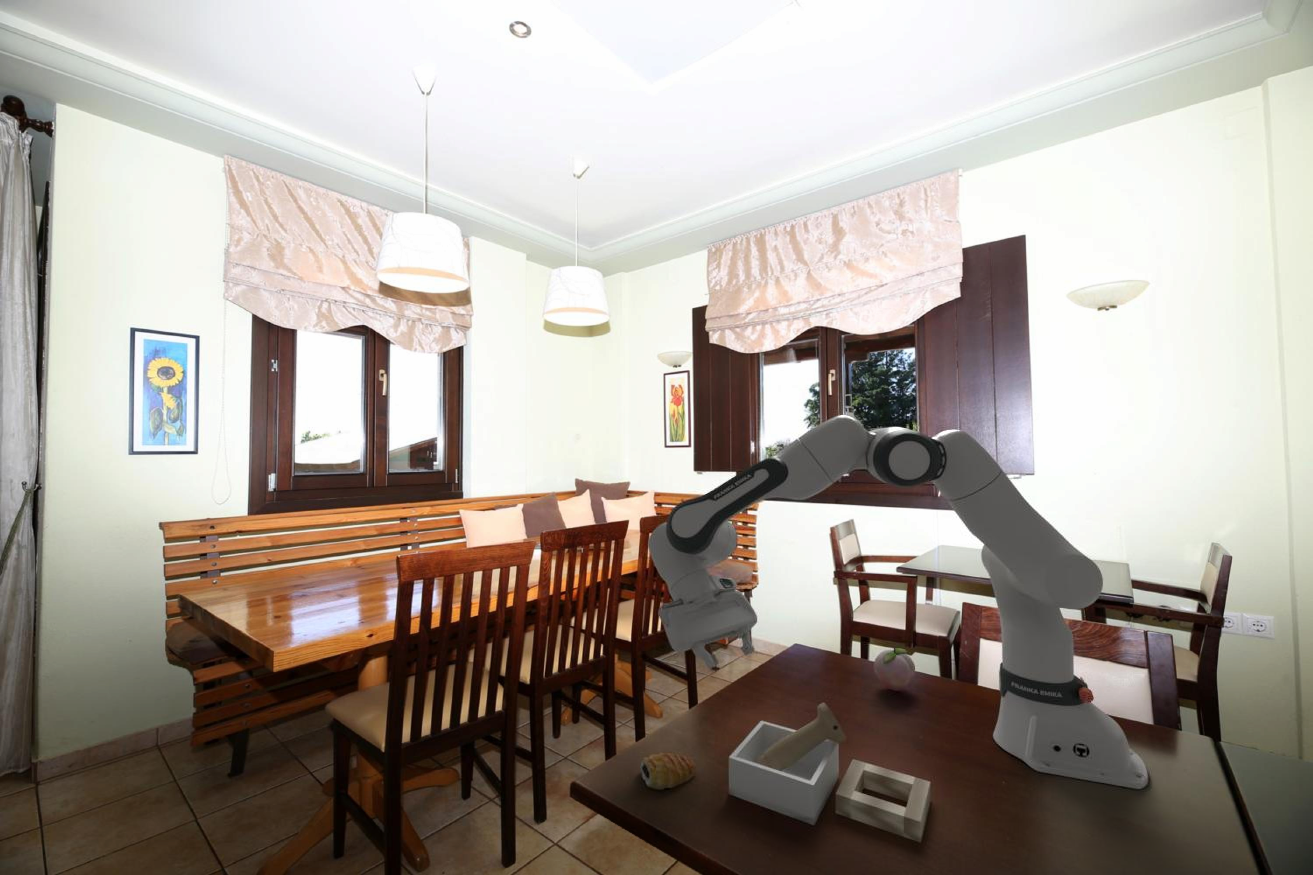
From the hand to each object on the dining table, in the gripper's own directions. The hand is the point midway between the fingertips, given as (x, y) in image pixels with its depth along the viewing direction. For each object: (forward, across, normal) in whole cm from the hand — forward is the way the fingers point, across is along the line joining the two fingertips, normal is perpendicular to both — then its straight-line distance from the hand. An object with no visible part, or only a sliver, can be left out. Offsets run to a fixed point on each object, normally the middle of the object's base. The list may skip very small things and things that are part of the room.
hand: (732, 659), depth 103 cm
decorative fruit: (+16, +47, +10) cm, 51 cm away
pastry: (+11, -14, +14) cm, 23 cm away
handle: (+17, -3, +4) cm, 18 cm away
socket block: (+30, +8, -5) cm, 32 cm away
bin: (+21, 0, +4) cm, 21 cm away
